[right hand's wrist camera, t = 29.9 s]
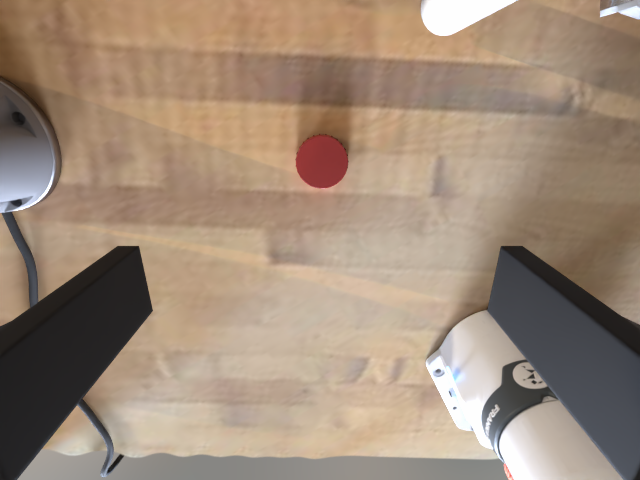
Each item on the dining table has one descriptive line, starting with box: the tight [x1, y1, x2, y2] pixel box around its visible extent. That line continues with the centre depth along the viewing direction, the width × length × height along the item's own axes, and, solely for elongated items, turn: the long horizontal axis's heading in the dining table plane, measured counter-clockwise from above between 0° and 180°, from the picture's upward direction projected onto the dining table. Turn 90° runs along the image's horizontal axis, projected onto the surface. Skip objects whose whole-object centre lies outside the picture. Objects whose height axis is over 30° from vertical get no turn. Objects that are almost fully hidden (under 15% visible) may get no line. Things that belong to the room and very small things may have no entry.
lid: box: [296, 134, 348, 188], centre depth 39 cm, size 6×6×2 cm
